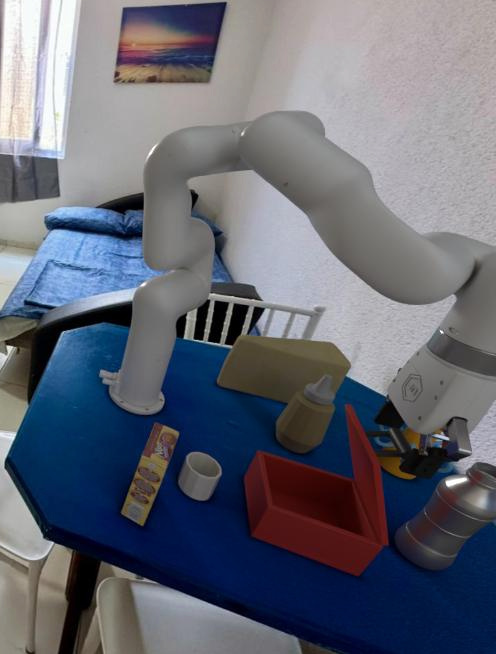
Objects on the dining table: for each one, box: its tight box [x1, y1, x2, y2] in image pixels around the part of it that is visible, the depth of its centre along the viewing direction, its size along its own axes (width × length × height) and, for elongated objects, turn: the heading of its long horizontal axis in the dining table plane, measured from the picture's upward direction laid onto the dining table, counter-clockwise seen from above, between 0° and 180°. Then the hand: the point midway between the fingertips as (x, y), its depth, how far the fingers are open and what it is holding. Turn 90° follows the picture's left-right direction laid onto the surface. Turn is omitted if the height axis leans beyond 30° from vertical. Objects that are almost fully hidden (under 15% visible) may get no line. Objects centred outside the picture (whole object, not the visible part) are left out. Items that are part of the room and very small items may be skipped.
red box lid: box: [344, 404, 412, 547], centre depth 61 cm, size 15×13×5 cm
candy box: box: [120, 422, 180, 527], centre depth 69 cm, size 9×4×15 cm, turn 145°
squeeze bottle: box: [275, 374, 336, 454], centre depth 82 cm, size 8×8×18 cm
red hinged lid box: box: [243, 449, 384, 577], centre depth 69 cm, size 15×13×8 cm
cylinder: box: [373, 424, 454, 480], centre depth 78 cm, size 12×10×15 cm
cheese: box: [216, 334, 352, 405], centre depth 97 cm, size 22×10×15 cm, turn 75°
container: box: [177, 451, 223, 501], centre depth 75 cm, size 6×6×6 cm
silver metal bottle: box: [393, 461, 496, 571], centre depth 61 cm, size 6×7×20 cm
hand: (398, 447), depth 58 cm, fingers open, 9 cm apart
